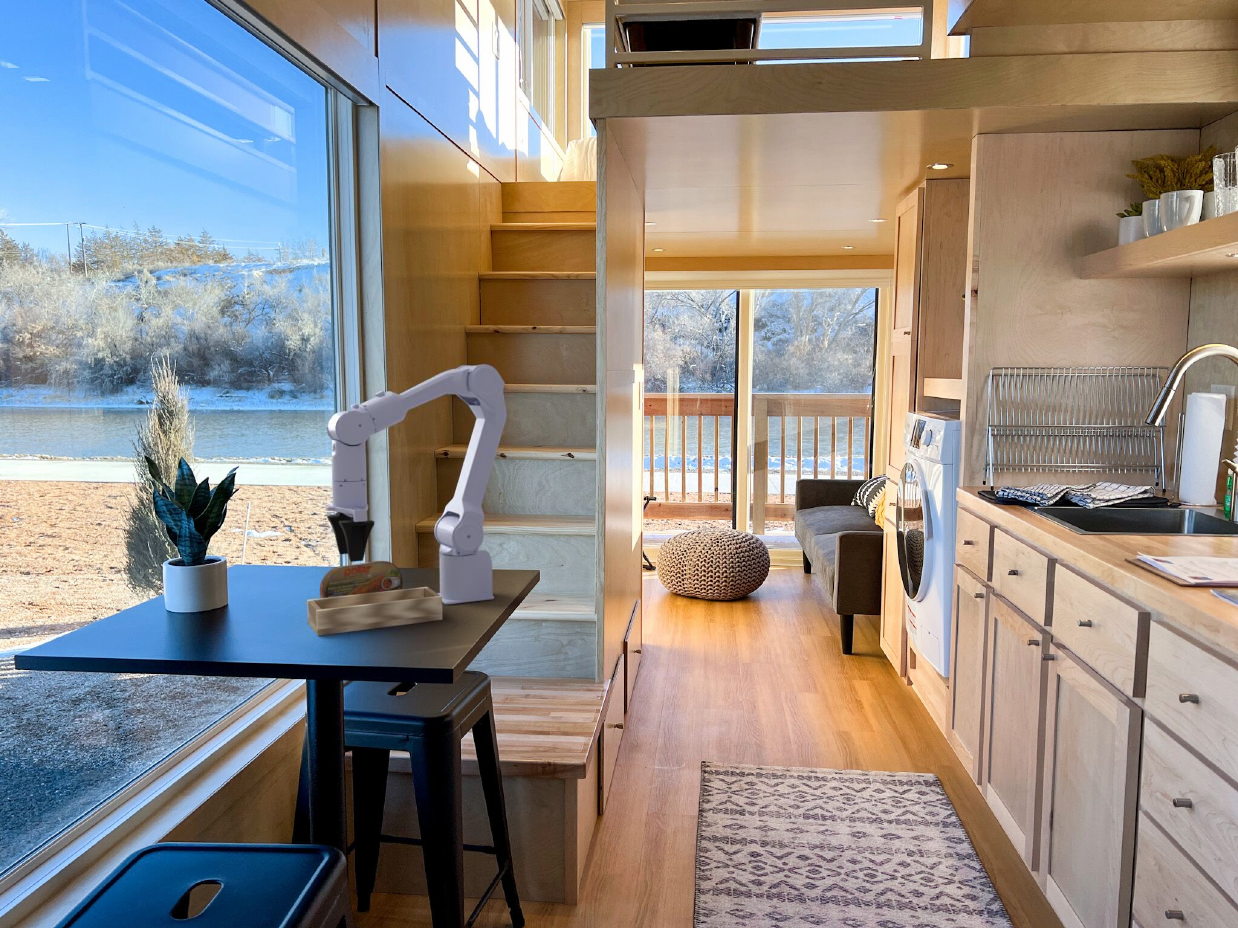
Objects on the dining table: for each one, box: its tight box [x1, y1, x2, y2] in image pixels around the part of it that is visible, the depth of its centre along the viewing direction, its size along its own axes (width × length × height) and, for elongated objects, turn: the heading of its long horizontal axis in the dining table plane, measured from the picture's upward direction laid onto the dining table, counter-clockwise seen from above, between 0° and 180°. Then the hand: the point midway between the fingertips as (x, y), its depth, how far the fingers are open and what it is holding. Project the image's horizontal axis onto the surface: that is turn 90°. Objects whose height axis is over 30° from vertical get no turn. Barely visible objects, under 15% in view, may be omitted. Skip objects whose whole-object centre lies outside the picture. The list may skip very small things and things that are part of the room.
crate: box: [306, 586, 443, 636], centre depth 152 cm, size 21×9×4 cm, turn 119°
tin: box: [319, 560, 404, 598], centre depth 160 cm, size 15×3×8 cm, turn 132°
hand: (351, 557), depth 157 cm, fingers open, 7 cm apart
